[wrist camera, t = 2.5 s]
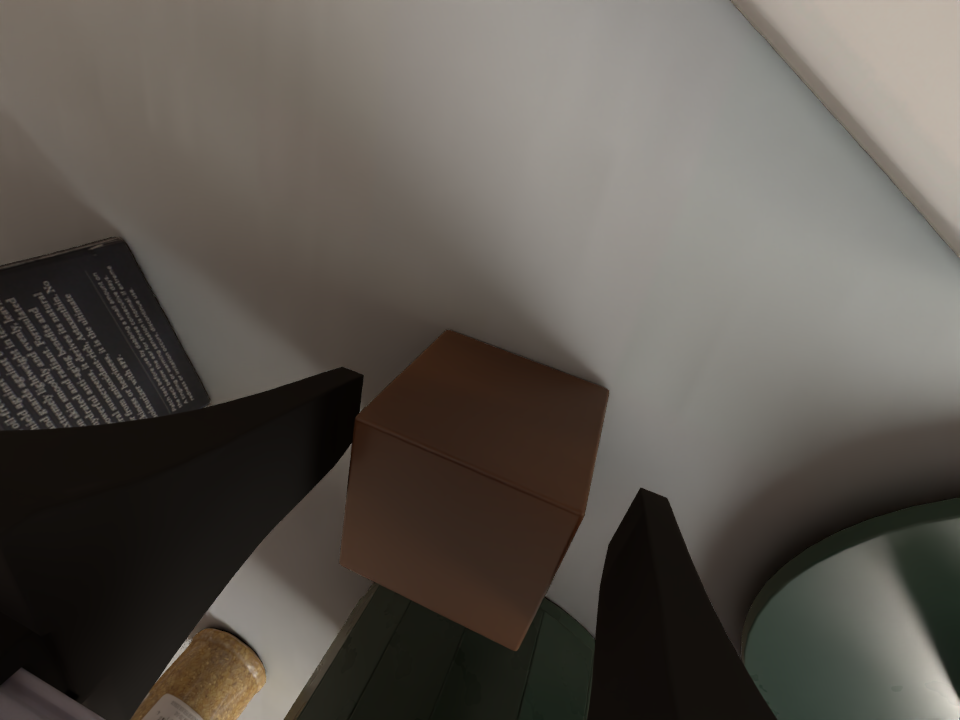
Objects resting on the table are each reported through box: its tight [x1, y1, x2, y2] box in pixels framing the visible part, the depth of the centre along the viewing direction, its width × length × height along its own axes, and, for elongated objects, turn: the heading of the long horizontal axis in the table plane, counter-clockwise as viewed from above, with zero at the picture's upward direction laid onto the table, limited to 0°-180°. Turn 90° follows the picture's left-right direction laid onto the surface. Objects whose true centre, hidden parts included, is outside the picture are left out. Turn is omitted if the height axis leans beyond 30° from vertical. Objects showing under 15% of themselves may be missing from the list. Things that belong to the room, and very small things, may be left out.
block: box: [339, 330, 609, 651], centre depth 11 cm, size 4×4×4 cm
